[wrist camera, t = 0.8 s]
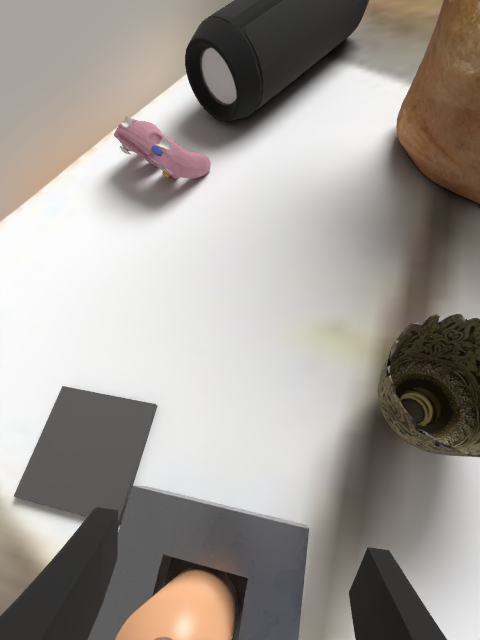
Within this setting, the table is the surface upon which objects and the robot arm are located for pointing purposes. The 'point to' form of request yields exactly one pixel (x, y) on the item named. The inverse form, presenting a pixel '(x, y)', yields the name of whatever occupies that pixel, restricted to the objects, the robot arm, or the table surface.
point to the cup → (435, 385)
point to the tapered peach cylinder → (187, 609)
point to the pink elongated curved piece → (160, 150)
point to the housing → (207, 560)
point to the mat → (88, 452)
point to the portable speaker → (262, 49)
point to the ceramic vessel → (447, 103)
